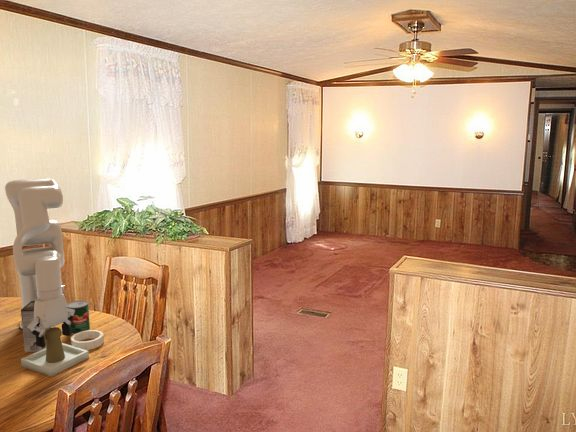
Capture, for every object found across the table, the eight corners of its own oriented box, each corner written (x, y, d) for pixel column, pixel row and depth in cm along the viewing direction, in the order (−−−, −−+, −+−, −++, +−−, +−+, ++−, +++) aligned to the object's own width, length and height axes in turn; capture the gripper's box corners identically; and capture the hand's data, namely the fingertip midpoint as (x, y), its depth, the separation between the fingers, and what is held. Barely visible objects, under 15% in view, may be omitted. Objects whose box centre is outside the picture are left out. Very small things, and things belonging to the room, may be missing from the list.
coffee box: (35, 341, 181) (31, 300, 178) (52, 340, 182) (49, 300, 179) (24, 352, 172) (19, 309, 169) (42, 351, 173) (38, 309, 170)
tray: (21, 366, 162) (20, 359, 162) (60, 348, 175) (59, 342, 175) (50, 376, 155) (50, 369, 155) (89, 357, 168) (88, 350, 168)
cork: (57, 363, 162) (54, 333, 160) (41, 362, 163) (38, 331, 161) (68, 355, 167) (66, 326, 166) (53, 354, 169) (51, 324, 167)
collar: (65, 346, 177) (64, 338, 176) (89, 335, 187) (89, 328, 186) (85, 352, 172) (85, 344, 171) (109, 341, 182) (109, 333, 181)
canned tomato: (77, 335, 186) (75, 308, 184) (64, 331, 190) (61, 305, 188) (94, 328, 193) (92, 302, 191) (81, 324, 197) (79, 299, 195)
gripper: (64, 284, 170) (68, 329, 173) (18, 299, 155) (23, 348, 158) (79, 287, 167) (82, 333, 170) (33, 303, 152) (37, 353, 155)
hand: (53, 340), depth 164 cm, fingers open, 9 cm apart
